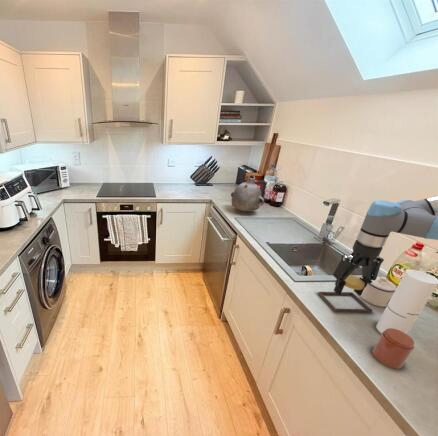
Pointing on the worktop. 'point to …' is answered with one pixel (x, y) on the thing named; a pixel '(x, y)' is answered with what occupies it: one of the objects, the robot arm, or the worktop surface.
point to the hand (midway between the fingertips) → (347, 292)
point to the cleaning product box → (260, 186)
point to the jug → (247, 196)
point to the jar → (393, 348)
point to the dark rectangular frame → (366, 310)
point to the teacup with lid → (379, 291)
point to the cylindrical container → (407, 301)
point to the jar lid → (354, 283)
